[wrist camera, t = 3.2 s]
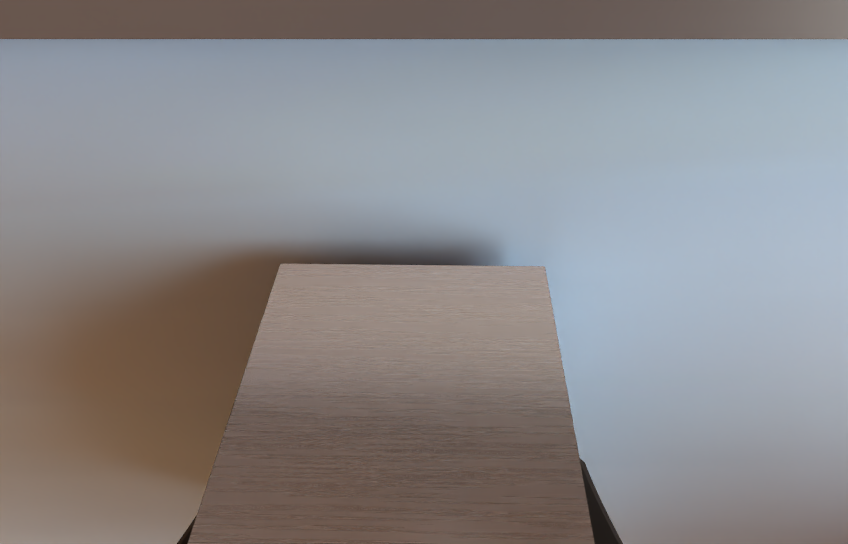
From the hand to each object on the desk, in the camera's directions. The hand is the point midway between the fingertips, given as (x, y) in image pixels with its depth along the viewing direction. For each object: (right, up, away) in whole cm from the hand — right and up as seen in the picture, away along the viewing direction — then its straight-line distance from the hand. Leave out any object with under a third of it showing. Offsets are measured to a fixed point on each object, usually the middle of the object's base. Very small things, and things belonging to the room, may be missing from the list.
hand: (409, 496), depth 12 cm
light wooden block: (0, +1, +1) cm, 2 cm away
